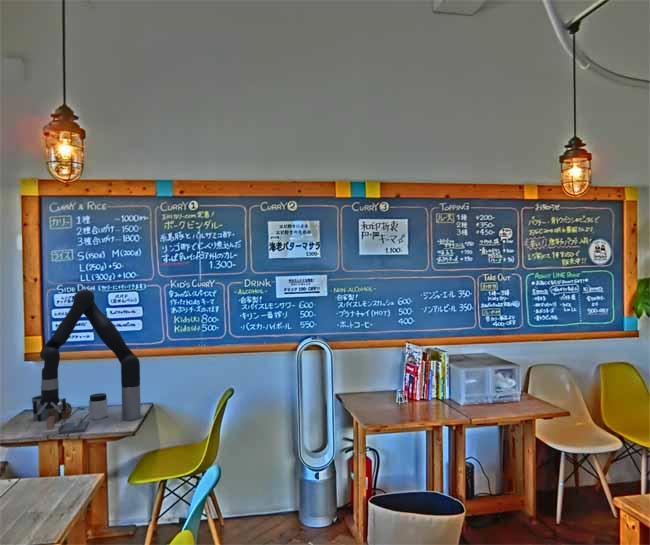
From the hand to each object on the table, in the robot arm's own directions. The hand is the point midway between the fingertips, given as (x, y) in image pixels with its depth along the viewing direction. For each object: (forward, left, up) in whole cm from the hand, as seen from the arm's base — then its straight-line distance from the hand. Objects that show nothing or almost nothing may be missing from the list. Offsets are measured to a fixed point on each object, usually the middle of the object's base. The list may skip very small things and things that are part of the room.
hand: (49, 420), depth 240 cm
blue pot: (+8, -26, -6) cm, 28 cm away
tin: (-1, -20, -6) cm, 21 cm away
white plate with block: (-1, 0, -5) cm, 5 cm away
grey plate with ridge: (-11, 0, -5) cm, 12 cm away
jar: (-20, -18, -6) cm, 27 cm away
